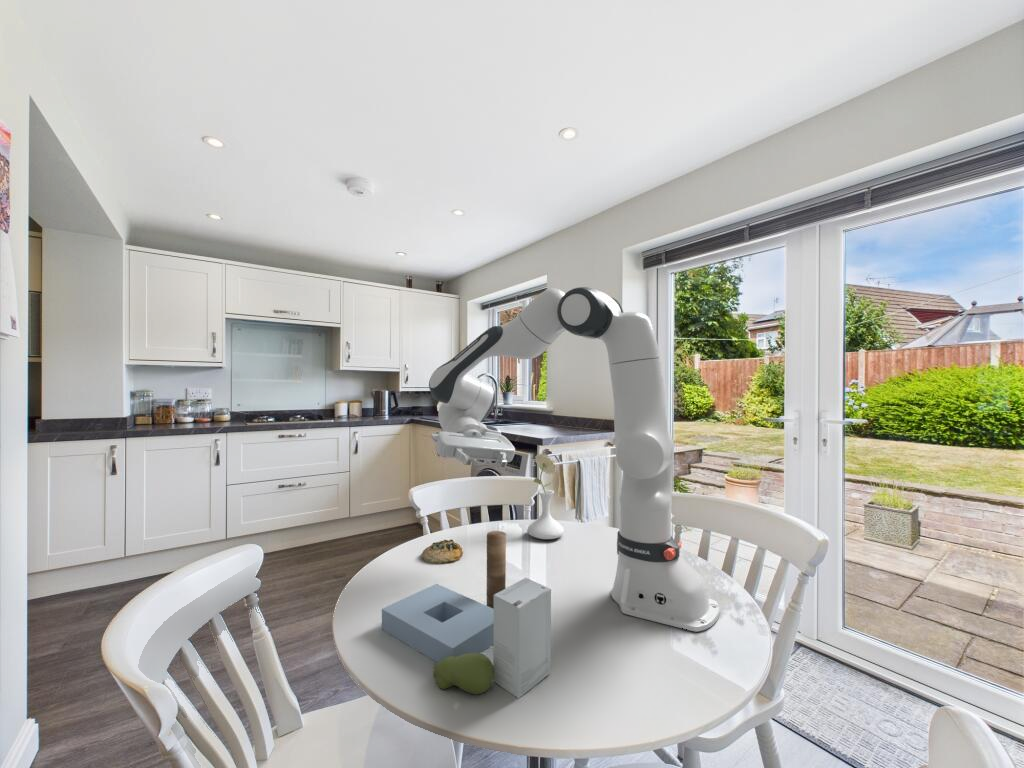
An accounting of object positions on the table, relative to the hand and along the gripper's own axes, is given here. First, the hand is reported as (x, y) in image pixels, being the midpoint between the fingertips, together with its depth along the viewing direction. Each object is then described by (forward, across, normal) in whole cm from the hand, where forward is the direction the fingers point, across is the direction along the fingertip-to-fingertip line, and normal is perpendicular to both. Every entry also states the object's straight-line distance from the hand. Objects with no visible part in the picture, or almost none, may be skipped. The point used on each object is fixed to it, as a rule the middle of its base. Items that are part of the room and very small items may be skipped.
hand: (486, 463), depth 108 cm
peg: (+20, +1, +23) cm, 31 cm away
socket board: (+24, -11, +24) cm, 36 cm away
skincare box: (+41, -5, +17) cm, 45 cm away
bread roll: (-9, +2, +35) cm, 36 cm away
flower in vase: (-12, +34, +30) cm, 47 cm away
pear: (+39, -14, +19) cm, 45 cm away
